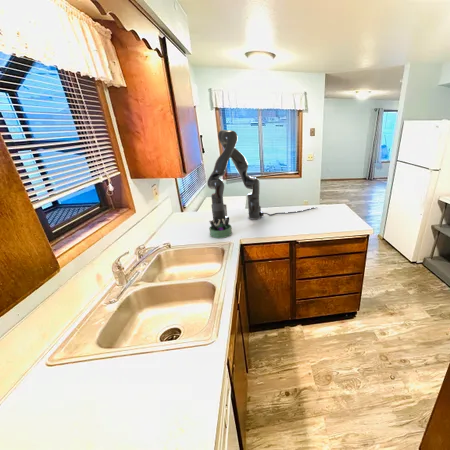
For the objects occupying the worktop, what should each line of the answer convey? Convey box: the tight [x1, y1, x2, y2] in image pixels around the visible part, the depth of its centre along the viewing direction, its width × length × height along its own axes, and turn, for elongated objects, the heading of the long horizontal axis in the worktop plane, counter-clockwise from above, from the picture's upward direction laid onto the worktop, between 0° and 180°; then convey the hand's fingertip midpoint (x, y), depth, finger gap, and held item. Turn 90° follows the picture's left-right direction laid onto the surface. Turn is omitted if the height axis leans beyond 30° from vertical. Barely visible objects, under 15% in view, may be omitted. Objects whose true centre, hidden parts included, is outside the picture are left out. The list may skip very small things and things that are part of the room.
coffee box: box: [211, 203, 228, 225], centre depth 178 cm, size 9×6×16 cm
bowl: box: [208, 223, 233, 239], centre depth 162 cm, size 14×14×6 cm
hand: (221, 232), depth 163 cm, fingers closed on ball, 4 cm apart
